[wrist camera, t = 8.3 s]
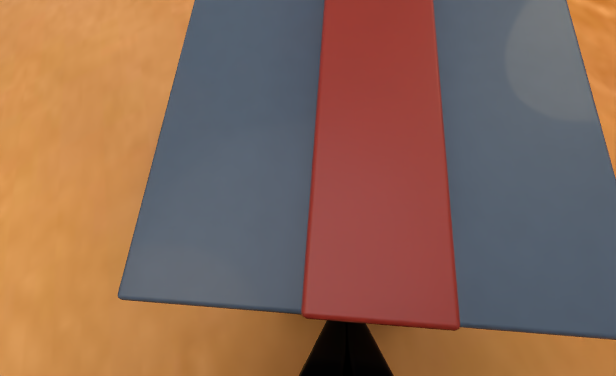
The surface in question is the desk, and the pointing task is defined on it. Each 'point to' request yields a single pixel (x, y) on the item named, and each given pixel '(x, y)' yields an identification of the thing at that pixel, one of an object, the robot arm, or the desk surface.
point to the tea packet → (383, 168)
